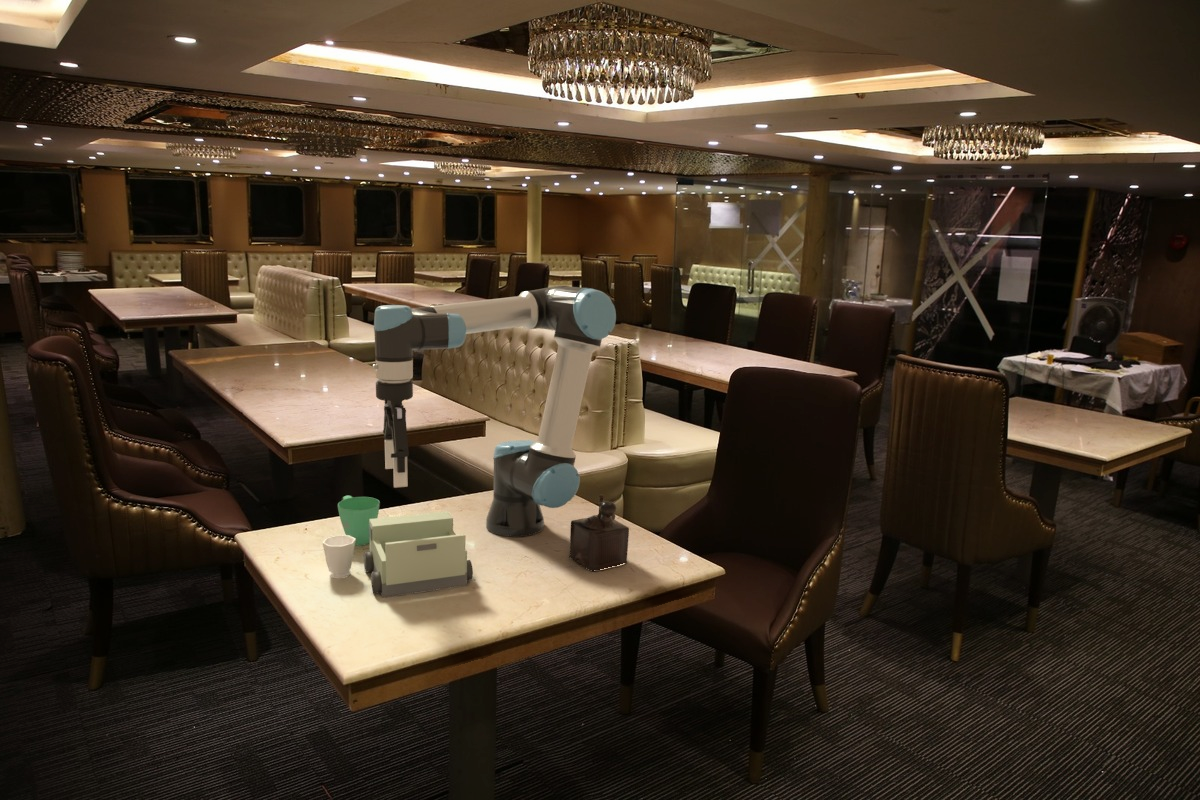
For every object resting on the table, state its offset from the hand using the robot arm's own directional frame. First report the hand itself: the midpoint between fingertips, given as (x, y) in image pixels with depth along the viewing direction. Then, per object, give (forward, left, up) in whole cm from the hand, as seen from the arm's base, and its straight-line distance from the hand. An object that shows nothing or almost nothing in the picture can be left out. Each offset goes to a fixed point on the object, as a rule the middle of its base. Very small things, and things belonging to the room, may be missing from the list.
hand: (396, 477), depth 168 cm
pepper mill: (-47, +7, -24) cm, 53 cm away
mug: (+5, -27, -24) cm, 36 cm away
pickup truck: (-5, -1, -23) cm, 24 cm away
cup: (+11, -8, -24) cm, 27 cm away
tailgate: (-5, +9, -20) cm, 23 cm away
